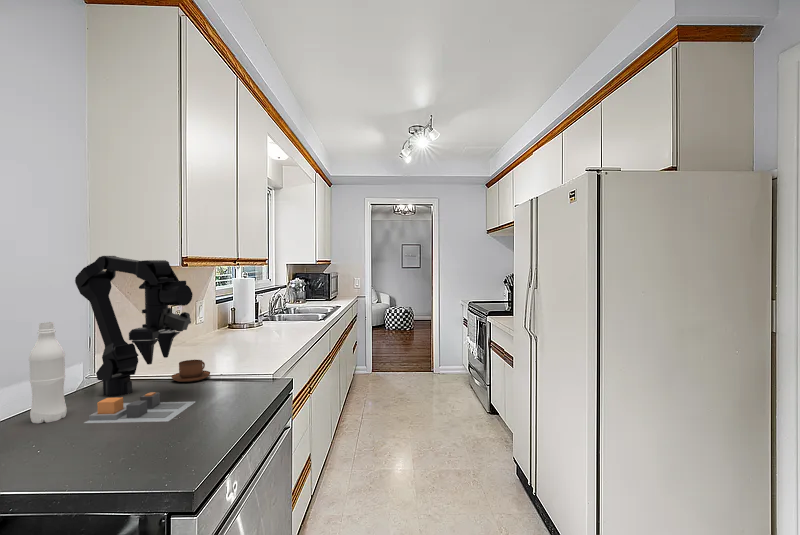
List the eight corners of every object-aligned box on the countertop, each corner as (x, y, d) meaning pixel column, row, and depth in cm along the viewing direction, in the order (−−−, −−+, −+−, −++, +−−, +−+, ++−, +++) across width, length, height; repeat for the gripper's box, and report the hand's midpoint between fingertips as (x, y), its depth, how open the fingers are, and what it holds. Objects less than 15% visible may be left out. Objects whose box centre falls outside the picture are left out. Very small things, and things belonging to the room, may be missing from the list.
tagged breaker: (140, 408, 123) (140, 395, 123) (148, 403, 127) (148, 391, 127) (152, 408, 123) (152, 395, 123) (160, 403, 127) (159, 391, 127)
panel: (83, 429, 113) (83, 410, 113) (121, 408, 129) (121, 391, 129) (168, 427, 113) (167, 408, 113) (196, 407, 129) (195, 390, 129)
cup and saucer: (182, 375, 167) (181, 358, 167) (216, 375, 167) (215, 358, 167) (164, 384, 155) (164, 365, 155) (200, 384, 155) (200, 365, 155)
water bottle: (73, 421, 119) (71, 321, 119) (44, 431, 112) (41, 325, 112) (53, 418, 122) (50, 320, 121) (23, 428, 115) (20, 324, 114)
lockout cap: (97, 418, 116) (97, 402, 116) (107, 413, 120) (107, 397, 120) (114, 418, 116) (113, 402, 116) (123, 413, 120) (123, 397, 120)
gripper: (170, 307, 124) (171, 367, 124) (199, 301, 142) (200, 353, 143) (126, 308, 124) (128, 368, 124) (161, 302, 142) (162, 354, 142)
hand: (157, 360), depth 133 cm, fingers open, 9 cm apart
